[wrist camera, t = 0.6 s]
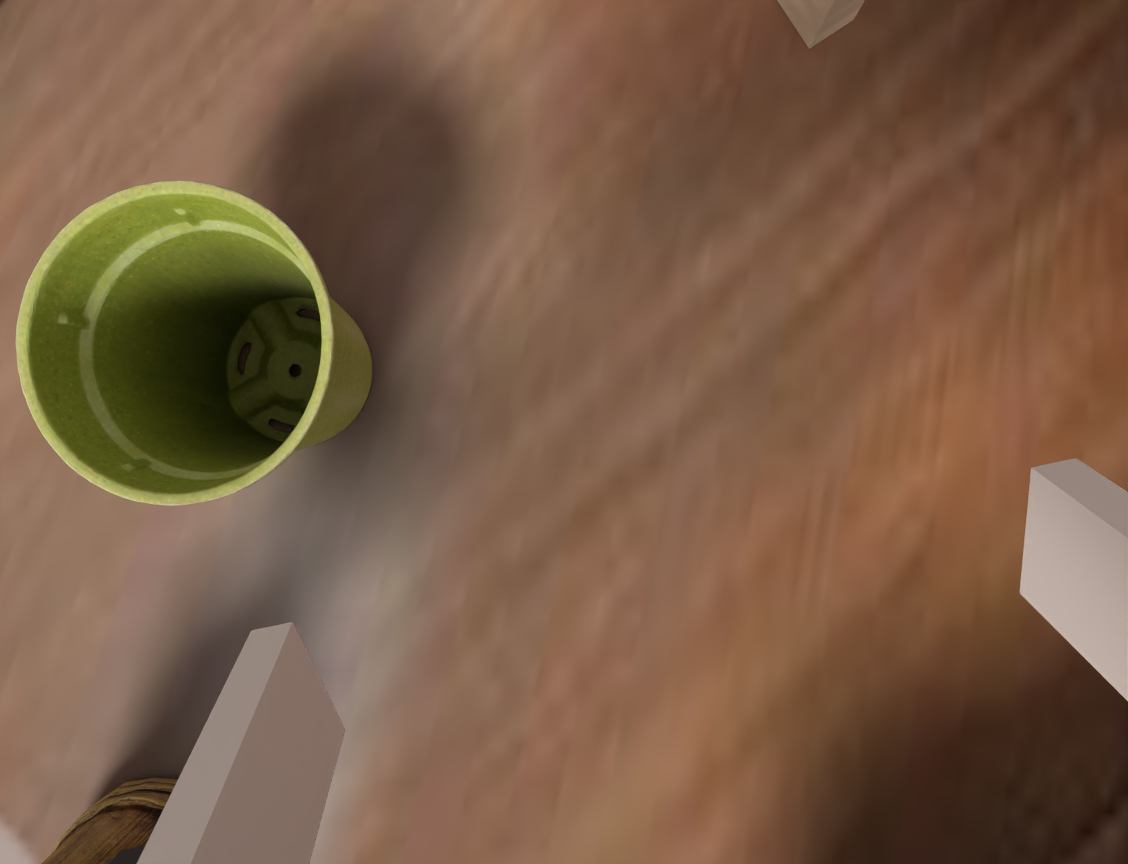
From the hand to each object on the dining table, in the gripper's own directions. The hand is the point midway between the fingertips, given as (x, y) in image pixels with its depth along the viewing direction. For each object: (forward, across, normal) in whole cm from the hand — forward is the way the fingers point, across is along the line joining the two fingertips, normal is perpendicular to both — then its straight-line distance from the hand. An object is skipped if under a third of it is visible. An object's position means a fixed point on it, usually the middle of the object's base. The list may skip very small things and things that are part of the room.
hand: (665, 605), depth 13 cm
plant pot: (+18, +12, 0) cm, 21 cm away
